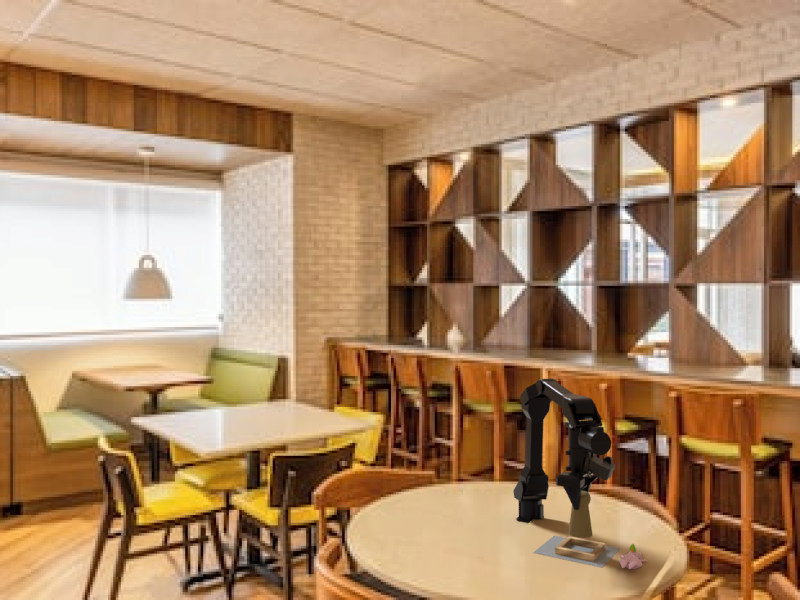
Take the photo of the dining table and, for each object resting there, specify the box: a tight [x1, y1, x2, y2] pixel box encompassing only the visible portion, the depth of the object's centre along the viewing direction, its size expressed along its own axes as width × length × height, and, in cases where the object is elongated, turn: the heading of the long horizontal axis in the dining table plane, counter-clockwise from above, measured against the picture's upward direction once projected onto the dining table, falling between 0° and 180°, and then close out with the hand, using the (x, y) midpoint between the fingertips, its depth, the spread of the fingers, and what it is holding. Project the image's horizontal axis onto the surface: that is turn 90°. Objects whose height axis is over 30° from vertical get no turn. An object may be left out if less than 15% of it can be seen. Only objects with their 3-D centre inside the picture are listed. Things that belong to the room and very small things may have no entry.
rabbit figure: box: [619, 543, 648, 570], centre depth 167 cm, size 6×6×15 cm
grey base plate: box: [532, 535, 621, 568], centre depth 177 cm, size 18×15×1 cm
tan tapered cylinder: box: [567, 491, 593, 539], centre depth 176 cm, size 6×6×11 cm
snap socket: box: [555, 535, 607, 562], centre depth 176 cm, size 10×10×2 cm
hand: (580, 506), depth 176 cm, fingers closed on tan tapered cylinder, 5 cm apart
